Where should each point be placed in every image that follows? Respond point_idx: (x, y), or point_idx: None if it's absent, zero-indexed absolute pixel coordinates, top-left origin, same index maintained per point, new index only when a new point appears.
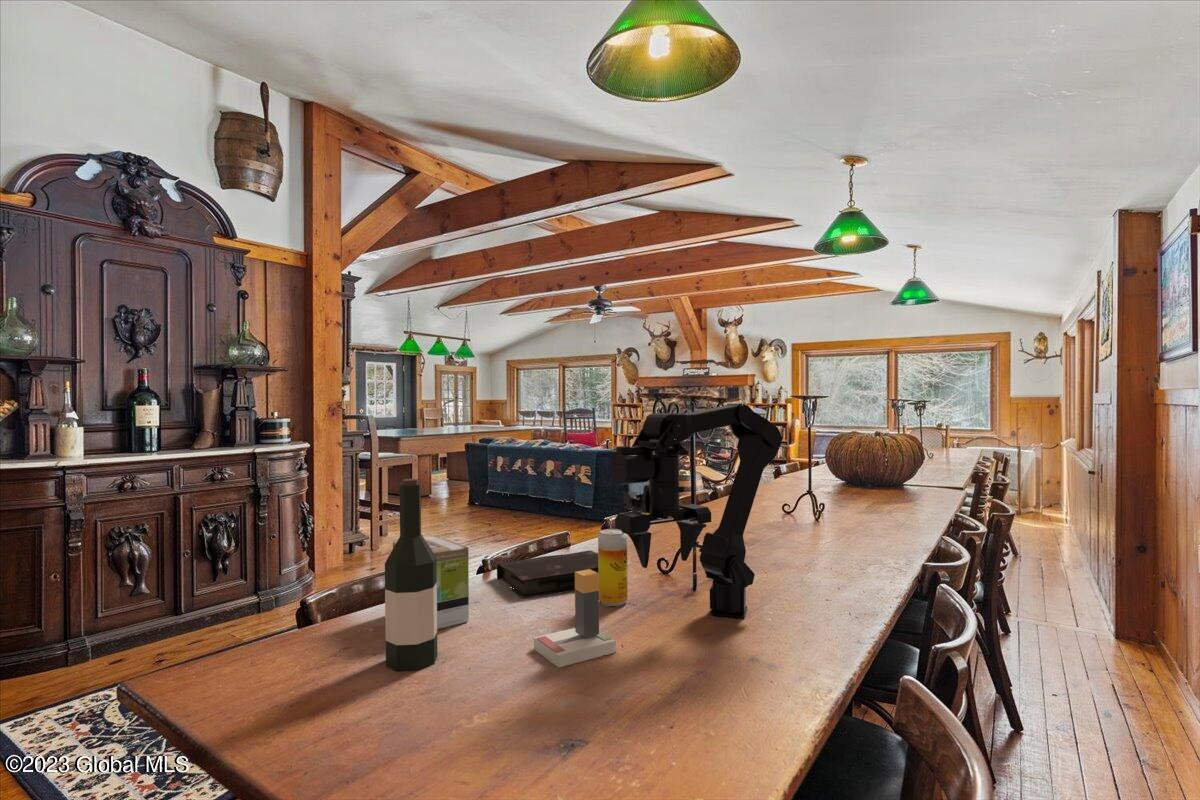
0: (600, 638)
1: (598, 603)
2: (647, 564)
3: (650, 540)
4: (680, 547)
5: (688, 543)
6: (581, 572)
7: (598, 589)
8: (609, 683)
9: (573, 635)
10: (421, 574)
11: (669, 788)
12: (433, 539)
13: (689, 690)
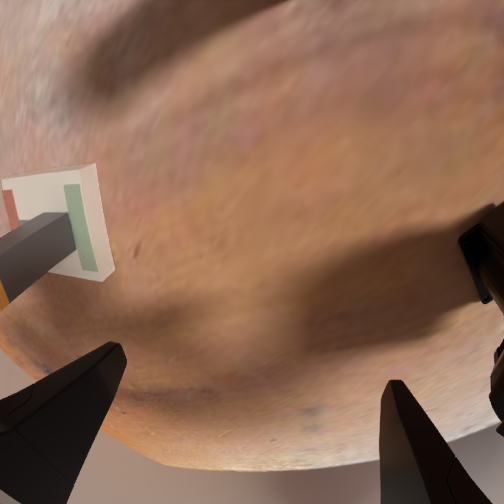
0: (80, 256)
1: (30, 284)
2: (119, 379)
3: (68, 494)
4: (404, 435)
5: (383, 501)
6: None
7: (7, 304)
8: (85, 334)
9: (44, 210)
10: None
11: (102, 430)
12: None
13: (168, 401)
